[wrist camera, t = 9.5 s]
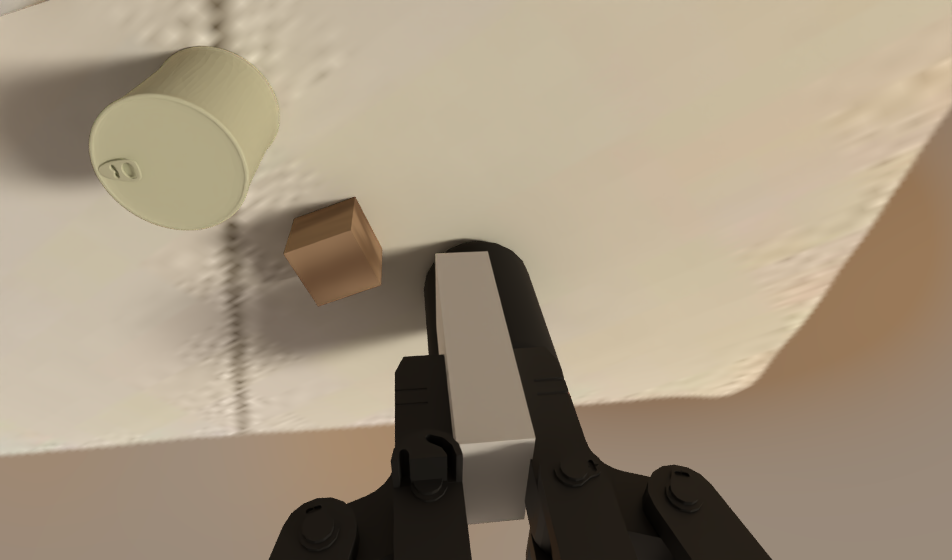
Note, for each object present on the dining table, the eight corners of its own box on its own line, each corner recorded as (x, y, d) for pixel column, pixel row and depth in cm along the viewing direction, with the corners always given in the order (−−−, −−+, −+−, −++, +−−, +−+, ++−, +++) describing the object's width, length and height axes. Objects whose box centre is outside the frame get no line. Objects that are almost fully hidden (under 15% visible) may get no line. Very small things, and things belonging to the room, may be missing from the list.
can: (135, 48, 40) (54, 100, 31) (264, 42, 41) (224, 90, 31) (178, 165, 46) (120, 240, 36) (290, 158, 46) (263, 229, 37)
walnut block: (294, 218, 50) (283, 253, 45) (355, 196, 49) (350, 230, 44) (325, 268, 53) (318, 306, 49) (382, 248, 53) (381, 285, 48)
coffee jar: (460, 335, 60) (481, 477, 46) (402, 271, 55) (405, 411, 40) (544, 287, 58) (595, 421, 43) (492, 215, 52) (530, 343, 38)
